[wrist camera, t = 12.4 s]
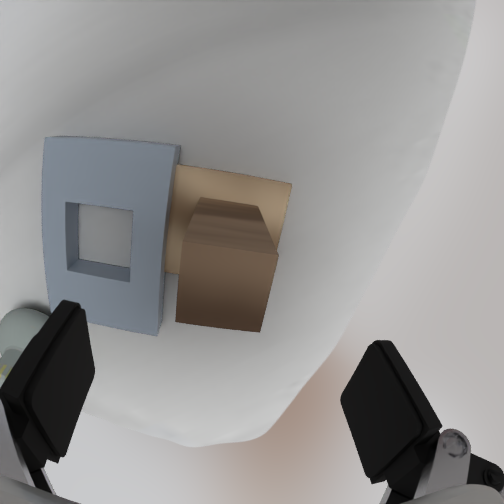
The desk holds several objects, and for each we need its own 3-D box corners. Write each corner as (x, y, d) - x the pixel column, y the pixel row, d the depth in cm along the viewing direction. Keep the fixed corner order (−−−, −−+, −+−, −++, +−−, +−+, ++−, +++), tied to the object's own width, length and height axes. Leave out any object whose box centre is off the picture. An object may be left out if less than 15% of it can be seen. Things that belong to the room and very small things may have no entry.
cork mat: (177, 164, 22) (176, 165, 22) (290, 183, 24) (292, 184, 23) (165, 268, 25) (164, 271, 25) (266, 283, 27) (267, 287, 26)
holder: (60, 135, 20) (45, 137, 18) (180, 145, 22) (175, 146, 19) (61, 299, 26) (50, 312, 23) (162, 320, 27) (157, 336, 25)
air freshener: (92, 374, 30) (66, 439, 21) (42, 370, 29) (12, 425, 20) (58, 295, 26) (10, 356, 16) (7, 297, 25) (-40, 348, 16)
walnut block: (200, 196, 23) (182, 241, 14) (257, 206, 23) (278, 255, 14) (193, 250, 24) (175, 321, 15) (247, 258, 25) (259, 332, 16)
